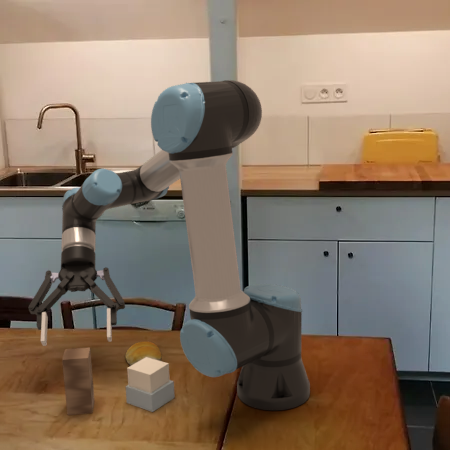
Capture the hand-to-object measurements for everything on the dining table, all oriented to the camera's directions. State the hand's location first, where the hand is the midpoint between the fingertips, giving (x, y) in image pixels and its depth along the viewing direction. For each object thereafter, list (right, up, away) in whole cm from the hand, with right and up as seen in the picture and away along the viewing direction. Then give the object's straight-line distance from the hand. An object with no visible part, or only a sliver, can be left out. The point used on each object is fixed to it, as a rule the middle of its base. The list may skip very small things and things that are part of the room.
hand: (76, 341), depth 148 cm
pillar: (+2, -13, -4) cm, 14 cm away
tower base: (+16, -12, -2) cm, 20 cm away
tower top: (+16, -8, -3) cm, 18 cm away
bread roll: (+12, -7, +17) cm, 22 cm away
